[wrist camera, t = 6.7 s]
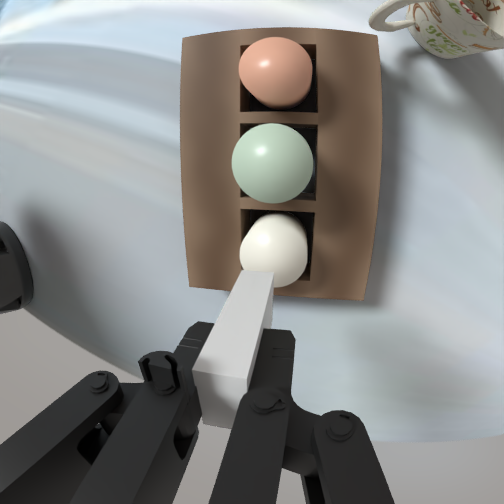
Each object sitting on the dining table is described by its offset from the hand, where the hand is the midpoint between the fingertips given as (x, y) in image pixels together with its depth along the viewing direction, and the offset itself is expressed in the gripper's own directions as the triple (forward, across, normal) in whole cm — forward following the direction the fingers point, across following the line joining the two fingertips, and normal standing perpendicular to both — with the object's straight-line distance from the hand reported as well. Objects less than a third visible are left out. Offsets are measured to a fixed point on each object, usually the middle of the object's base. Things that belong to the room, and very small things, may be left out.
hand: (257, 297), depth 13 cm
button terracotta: (+9, 0, +12) cm, 15 cm away
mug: (+11, +12, +19) cm, 25 cm away
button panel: (+11, 0, +6) cm, 12 cm away
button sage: (+8, 0, +6) cm, 10 cm away
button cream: (+9, 0, 0) cm, 9 cm away
